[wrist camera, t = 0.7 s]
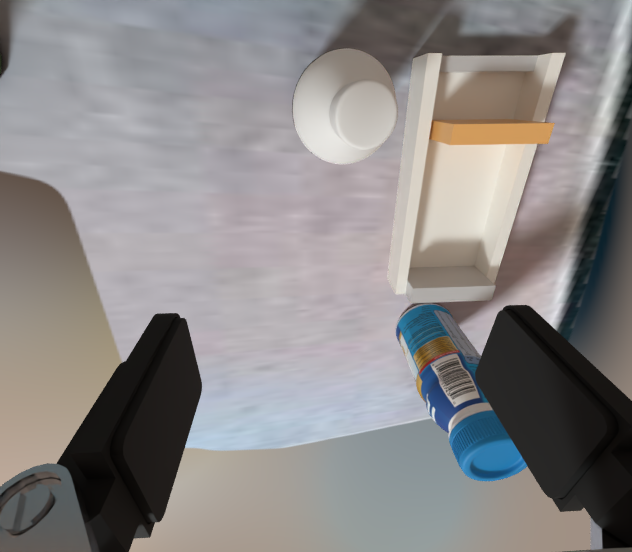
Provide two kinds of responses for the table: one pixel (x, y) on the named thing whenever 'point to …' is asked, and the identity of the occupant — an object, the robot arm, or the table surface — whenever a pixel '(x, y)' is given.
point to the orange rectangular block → (490, 131)
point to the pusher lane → (463, 173)
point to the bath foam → (344, 106)
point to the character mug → (0, 62)
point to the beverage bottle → (456, 392)
